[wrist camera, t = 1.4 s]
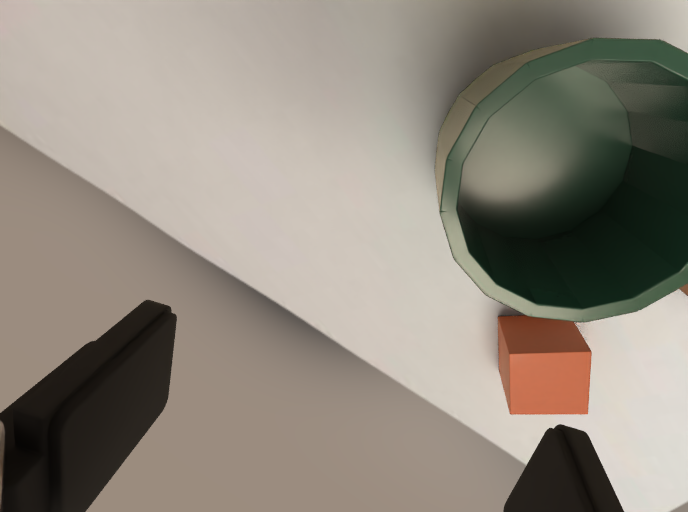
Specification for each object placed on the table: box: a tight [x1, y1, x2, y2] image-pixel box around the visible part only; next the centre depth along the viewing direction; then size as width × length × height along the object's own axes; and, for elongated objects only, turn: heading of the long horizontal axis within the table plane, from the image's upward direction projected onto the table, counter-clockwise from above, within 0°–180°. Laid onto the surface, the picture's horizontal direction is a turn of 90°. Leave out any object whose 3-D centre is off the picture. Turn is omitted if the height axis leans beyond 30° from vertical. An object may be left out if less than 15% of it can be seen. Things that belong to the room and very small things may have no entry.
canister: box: [435, 38, 688, 322], centre depth 25 cm, size 13×13×10 cm
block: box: [498, 315, 592, 414], centre depth 32 cm, size 5×5×5 cm
